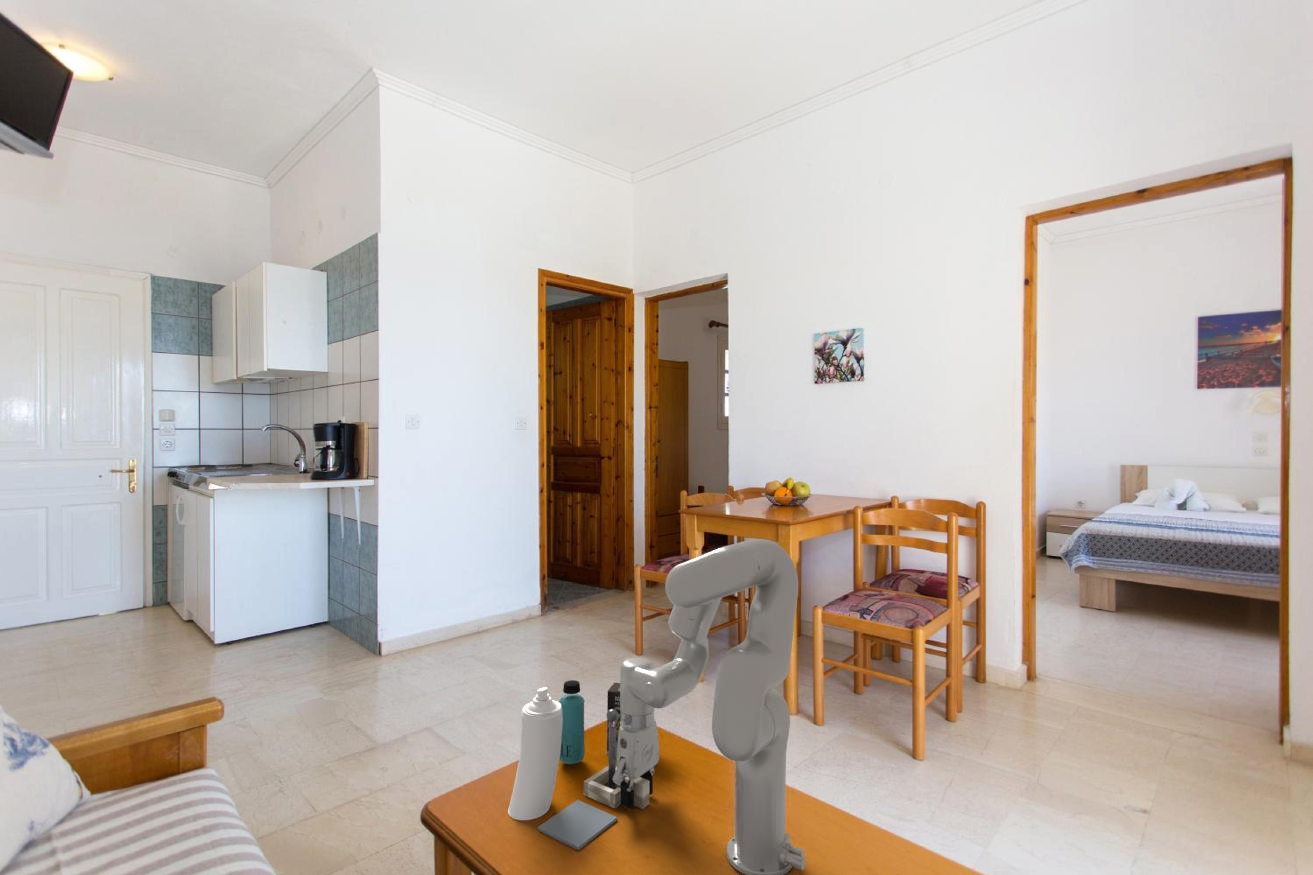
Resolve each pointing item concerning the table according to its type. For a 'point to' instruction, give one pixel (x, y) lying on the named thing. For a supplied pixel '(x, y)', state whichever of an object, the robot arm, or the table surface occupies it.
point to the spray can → (537, 757)
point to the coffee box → (614, 704)
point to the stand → (612, 747)
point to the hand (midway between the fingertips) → (636, 798)
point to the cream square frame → (613, 797)
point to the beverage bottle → (572, 724)
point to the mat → (577, 824)
